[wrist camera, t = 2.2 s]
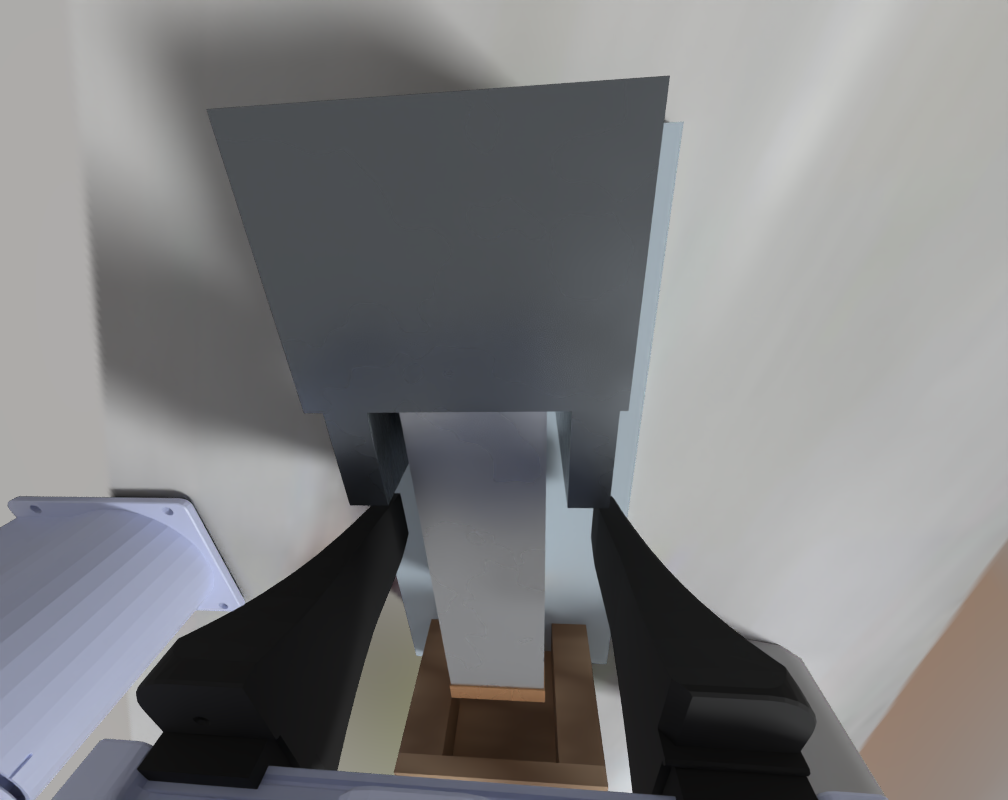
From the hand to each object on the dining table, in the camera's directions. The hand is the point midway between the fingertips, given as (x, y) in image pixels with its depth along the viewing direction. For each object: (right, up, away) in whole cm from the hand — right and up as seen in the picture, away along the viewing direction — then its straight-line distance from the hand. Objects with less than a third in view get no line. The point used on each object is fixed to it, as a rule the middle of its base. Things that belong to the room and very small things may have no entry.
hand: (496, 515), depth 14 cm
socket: (+1, -9, +7) cm, 12 cm away
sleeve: (0, +8, -1) cm, 8 cm away
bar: (0, +2, +1) cm, 2 cm away
